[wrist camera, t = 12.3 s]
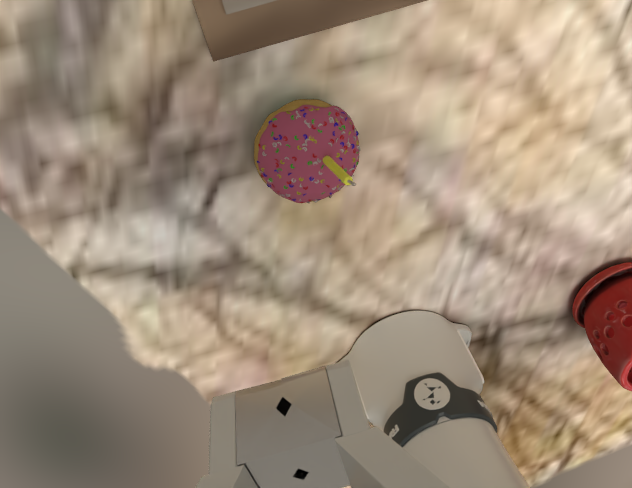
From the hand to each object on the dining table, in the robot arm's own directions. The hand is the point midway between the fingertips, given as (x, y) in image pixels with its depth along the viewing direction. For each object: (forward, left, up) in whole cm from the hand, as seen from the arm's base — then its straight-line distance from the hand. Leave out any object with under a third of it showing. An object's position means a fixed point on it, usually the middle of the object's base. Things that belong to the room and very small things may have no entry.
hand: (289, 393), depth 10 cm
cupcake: (-7, -3, -32) cm, 32 cm away
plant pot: (-41, -38, -32) cm, 65 cm away
